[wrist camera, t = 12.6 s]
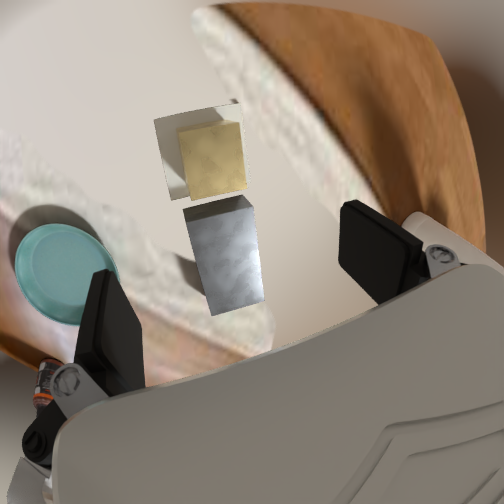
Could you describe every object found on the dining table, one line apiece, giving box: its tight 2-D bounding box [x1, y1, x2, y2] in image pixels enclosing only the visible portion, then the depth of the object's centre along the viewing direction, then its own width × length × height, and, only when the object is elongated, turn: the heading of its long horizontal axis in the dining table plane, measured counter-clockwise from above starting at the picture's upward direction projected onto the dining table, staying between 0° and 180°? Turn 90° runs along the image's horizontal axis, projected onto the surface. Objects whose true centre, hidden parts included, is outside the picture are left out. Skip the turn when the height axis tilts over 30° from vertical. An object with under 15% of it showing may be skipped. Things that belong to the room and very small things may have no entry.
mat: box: [154, 103, 251, 200], centre depth 27 cm, size 9×9×1 cm
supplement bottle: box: [33, 359, 63, 417], centre depth 30 cm, size 6×6×11 cm
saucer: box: [15, 223, 120, 326], centre depth 28 cm, size 15×15×3 cm
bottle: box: [401, 211, 504, 275], centre depth 32 cm, size 8×8×30 cm
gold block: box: [176, 119, 247, 201], centre depth 24 cm, size 6×5×6 cm
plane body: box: [183, 195, 265, 316], centre depth 32 cm, size 13×7×4 cm, turn 7°
